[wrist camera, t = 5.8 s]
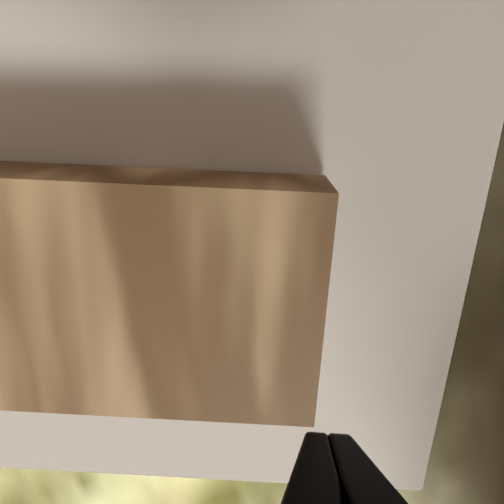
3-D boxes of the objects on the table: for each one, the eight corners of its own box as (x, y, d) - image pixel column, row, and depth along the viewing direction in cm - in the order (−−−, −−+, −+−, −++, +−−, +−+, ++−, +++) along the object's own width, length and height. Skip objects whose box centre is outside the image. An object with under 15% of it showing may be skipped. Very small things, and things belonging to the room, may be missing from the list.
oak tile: (339, 193, 12) (-107, 173, 12) (313, 427, 15) (-52, 407, 15) (324, 174, 15) (-33, 158, 15) (305, 370, 18) (2, 355, 18)
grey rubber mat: (525, -15, 14) (534, -19, 13) (418, 481, 20) (421, 491, 20) (-143, -40, 14) (-157, -45, 14) (-32, 456, 21) (-40, 464, 20)
